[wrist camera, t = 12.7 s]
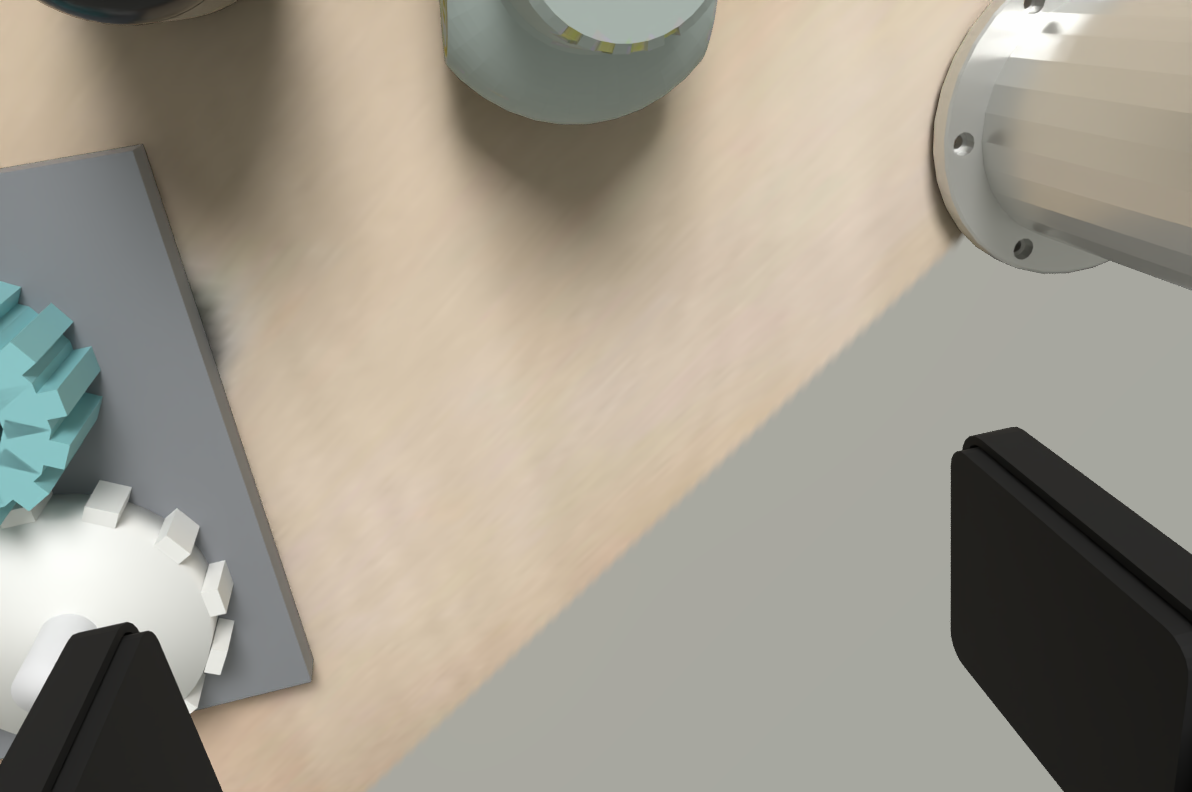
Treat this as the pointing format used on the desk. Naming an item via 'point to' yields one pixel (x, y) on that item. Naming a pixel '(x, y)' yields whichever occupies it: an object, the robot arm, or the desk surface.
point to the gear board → (135, 457)
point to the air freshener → (574, 53)
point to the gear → (39, 400)
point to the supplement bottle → (136, 10)
